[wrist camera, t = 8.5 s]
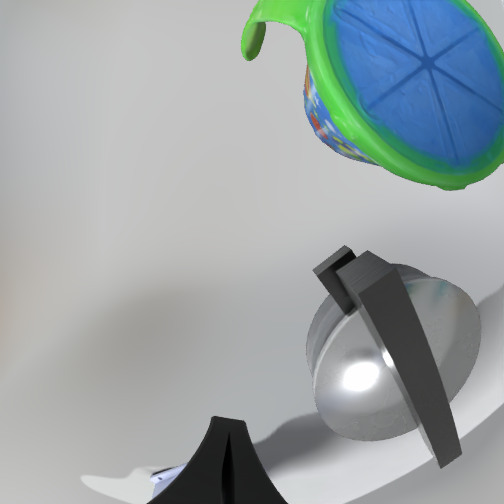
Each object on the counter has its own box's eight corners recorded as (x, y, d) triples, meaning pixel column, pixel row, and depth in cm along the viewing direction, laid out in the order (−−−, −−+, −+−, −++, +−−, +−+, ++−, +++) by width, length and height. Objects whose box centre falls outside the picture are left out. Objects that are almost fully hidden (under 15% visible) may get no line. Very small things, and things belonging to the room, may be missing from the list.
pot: (465, 357, 23) (488, 378, 19) (365, 433, 24) (377, 462, 20) (386, 195, 20) (414, 198, 16) (247, 301, 21) (247, 327, 17)
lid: (487, 385, 19) (513, 411, 15) (366, 468, 20) (380, 503, 16) (432, 197, 15) (477, 203, 11) (248, 320, 17) (248, 360, 13)
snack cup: (460, 111, 18) (553, 90, 8) (415, 227, 20) (513, 261, 10) (284, 4, 17) (306, -91, 7) (216, 120, 18) (186, 61, 9)
